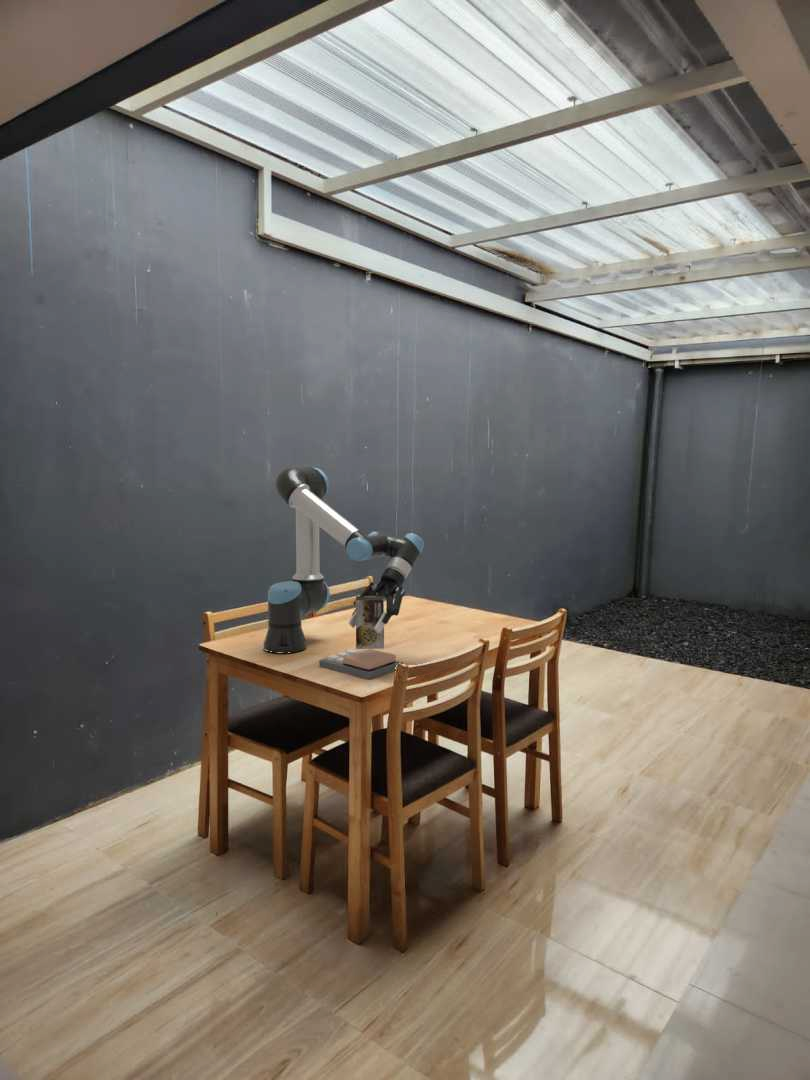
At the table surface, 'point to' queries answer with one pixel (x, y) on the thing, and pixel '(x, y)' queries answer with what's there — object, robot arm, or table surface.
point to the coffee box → (369, 622)
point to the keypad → (337, 664)
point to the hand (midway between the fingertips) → (363, 628)
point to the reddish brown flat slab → (369, 659)
